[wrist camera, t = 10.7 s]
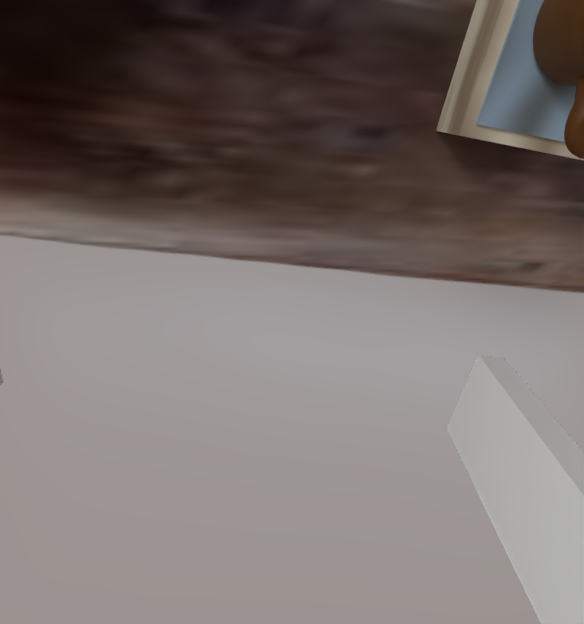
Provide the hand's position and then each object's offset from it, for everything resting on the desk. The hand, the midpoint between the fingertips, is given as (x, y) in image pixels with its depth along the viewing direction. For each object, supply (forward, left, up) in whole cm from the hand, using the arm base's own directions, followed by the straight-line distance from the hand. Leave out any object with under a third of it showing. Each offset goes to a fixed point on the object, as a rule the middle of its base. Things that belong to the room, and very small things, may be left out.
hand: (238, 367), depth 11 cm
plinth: (+20, +13, -31) cm, 39 cm away
